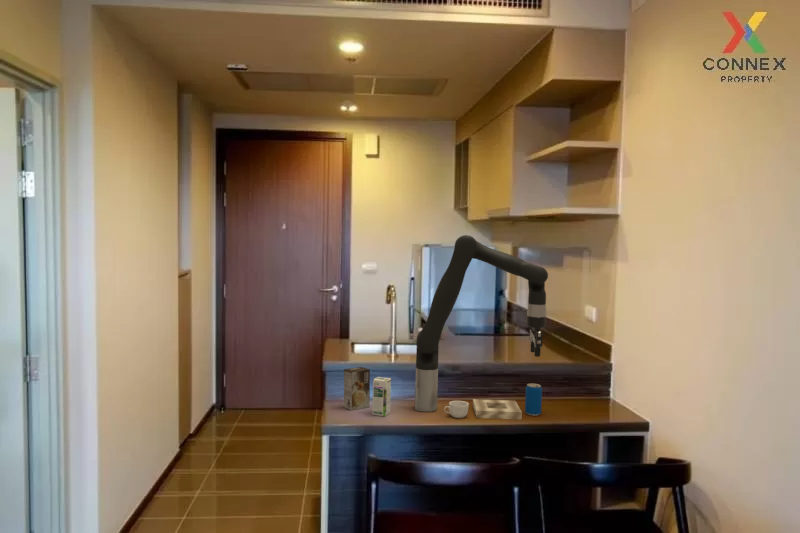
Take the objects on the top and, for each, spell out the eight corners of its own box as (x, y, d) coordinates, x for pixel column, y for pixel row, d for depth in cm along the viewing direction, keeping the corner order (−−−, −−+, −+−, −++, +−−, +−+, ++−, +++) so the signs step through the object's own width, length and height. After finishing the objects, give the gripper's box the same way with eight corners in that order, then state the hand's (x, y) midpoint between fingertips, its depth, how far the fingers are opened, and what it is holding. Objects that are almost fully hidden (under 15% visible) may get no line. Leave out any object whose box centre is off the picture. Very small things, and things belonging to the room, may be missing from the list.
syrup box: (371, 415, 232) (372, 379, 231) (377, 411, 237) (378, 376, 237) (385, 416, 230) (386, 380, 229) (390, 412, 236) (391, 377, 235)
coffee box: (361, 403, 247) (361, 366, 247) (369, 407, 242) (370, 369, 242) (343, 407, 242) (343, 369, 241) (351, 410, 237) (352, 372, 236)
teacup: (464, 413, 237) (464, 400, 237) (471, 419, 230) (471, 405, 230) (441, 414, 235) (441, 401, 235) (446, 420, 228) (447, 406, 227)
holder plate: (476, 417, 231) (476, 410, 231) (472, 406, 247) (473, 399, 247) (521, 419, 231) (521, 412, 230) (515, 407, 246) (515, 400, 246)
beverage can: (541, 417, 234) (542, 387, 234) (525, 415, 236) (526, 386, 235) (540, 412, 241) (541, 383, 240) (524, 411, 242) (525, 382, 241)
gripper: (524, 312, 244) (522, 350, 245) (530, 317, 230) (529, 357, 231) (542, 312, 244) (540, 351, 245) (549, 317, 230) (548, 358, 231)
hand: (535, 354), depth 238 cm, fingers open, 8 cm apart
